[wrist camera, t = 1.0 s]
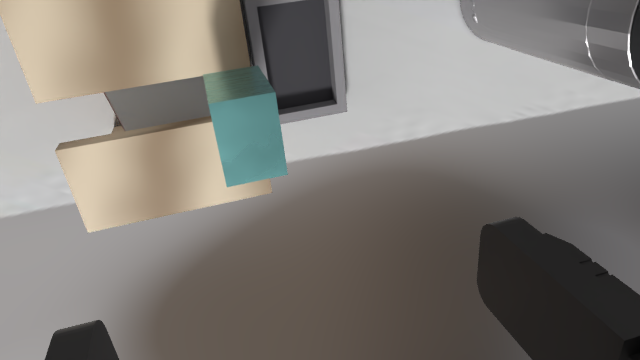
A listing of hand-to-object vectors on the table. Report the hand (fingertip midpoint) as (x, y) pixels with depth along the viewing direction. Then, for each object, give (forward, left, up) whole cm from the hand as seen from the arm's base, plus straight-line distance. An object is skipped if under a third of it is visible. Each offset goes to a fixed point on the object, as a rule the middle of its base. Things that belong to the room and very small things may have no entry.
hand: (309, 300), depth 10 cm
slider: (0, 0, -30) cm, 30 cm away
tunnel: (+4, 0, -30) cm, 30 cm away
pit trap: (-6, +2, -30) cm, 31 cm away
